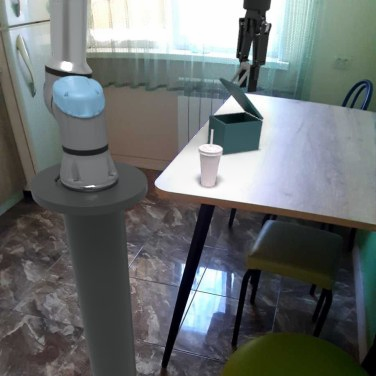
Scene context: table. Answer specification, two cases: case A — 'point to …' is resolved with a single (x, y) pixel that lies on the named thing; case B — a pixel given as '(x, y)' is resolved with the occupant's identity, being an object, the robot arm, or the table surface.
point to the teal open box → (235, 132)
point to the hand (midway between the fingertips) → (246, 89)
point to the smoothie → (209, 162)
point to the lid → (238, 92)
